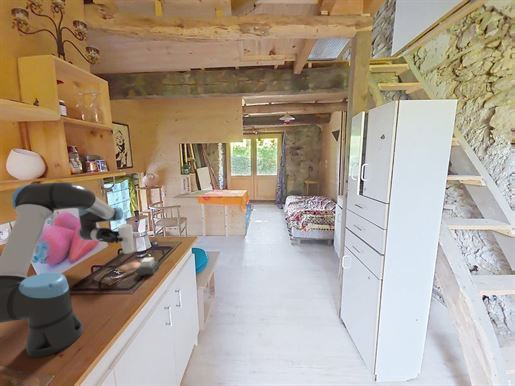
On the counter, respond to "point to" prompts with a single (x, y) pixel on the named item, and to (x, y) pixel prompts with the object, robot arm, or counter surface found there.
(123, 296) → the counter surface
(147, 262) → the button
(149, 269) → the button housing
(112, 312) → the counter surface
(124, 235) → the drinking glass
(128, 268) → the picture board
